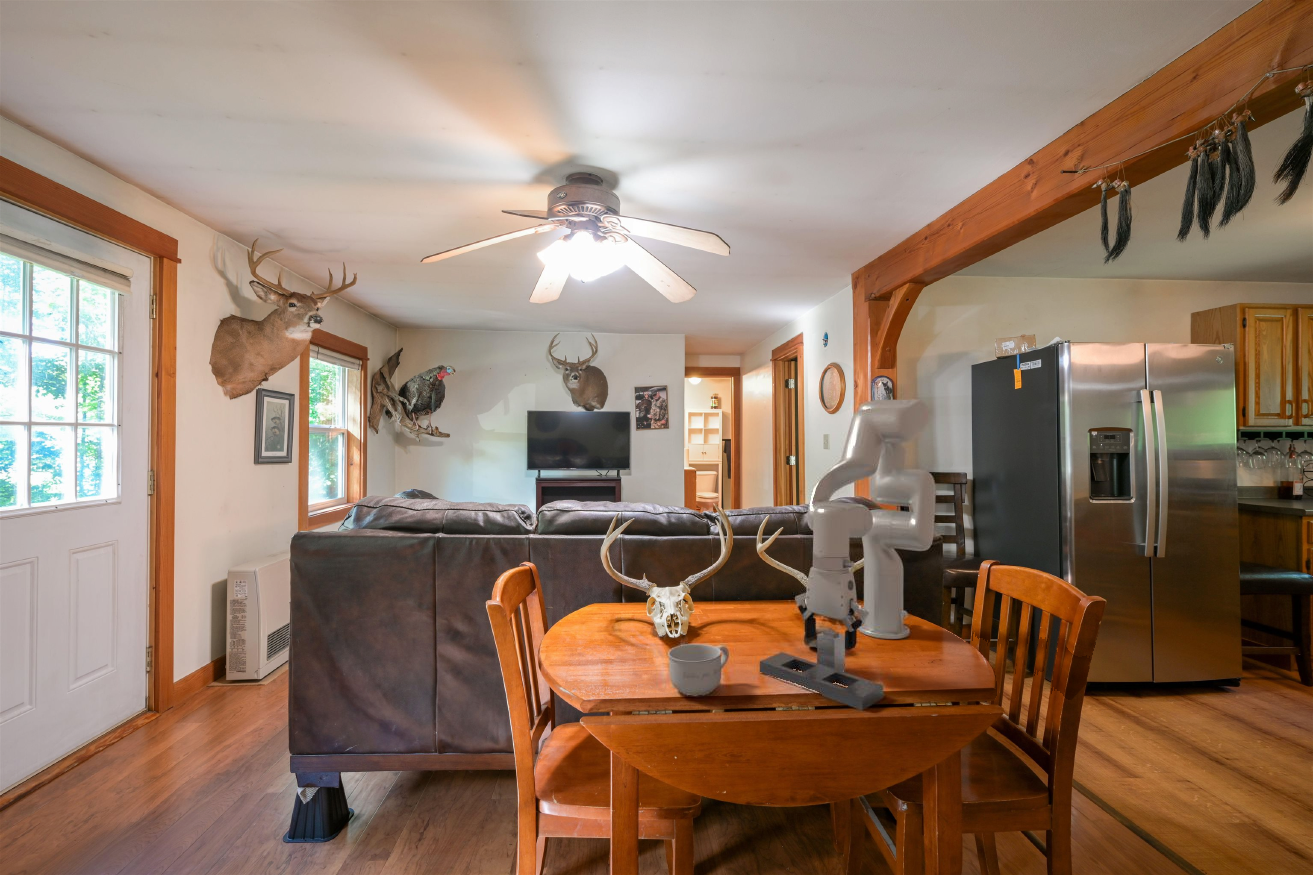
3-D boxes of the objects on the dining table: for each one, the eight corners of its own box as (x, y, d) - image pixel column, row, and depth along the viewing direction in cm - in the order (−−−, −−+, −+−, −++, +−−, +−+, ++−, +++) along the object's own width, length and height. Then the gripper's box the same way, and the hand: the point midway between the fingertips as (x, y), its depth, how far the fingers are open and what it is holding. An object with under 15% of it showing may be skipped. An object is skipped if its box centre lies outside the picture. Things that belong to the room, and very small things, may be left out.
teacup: (682, 706, 115) (682, 664, 115) (659, 684, 125) (659, 645, 125) (745, 693, 121) (745, 653, 121) (718, 673, 131) (718, 636, 131)
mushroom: (840, 644, 139) (830, 618, 142) (807, 655, 140) (797, 629, 144) (844, 650, 145) (834, 625, 149) (812, 661, 147) (803, 635, 150)
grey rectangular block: (827, 666, 135) (827, 627, 134) (844, 671, 131) (844, 632, 131) (817, 671, 132) (817, 631, 132) (834, 677, 129) (834, 636, 129)
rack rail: (759, 672, 131) (759, 661, 131) (781, 663, 136) (781, 651, 136) (862, 710, 113) (862, 697, 113) (883, 697, 119) (883, 684, 119)
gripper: (877, 567, 127) (876, 649, 127) (806, 555, 140) (805, 629, 140) (858, 572, 122) (857, 657, 122) (787, 559, 135) (786, 636, 135)
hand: (829, 642), depth 131 cm, fingers open, 9 cm apart
